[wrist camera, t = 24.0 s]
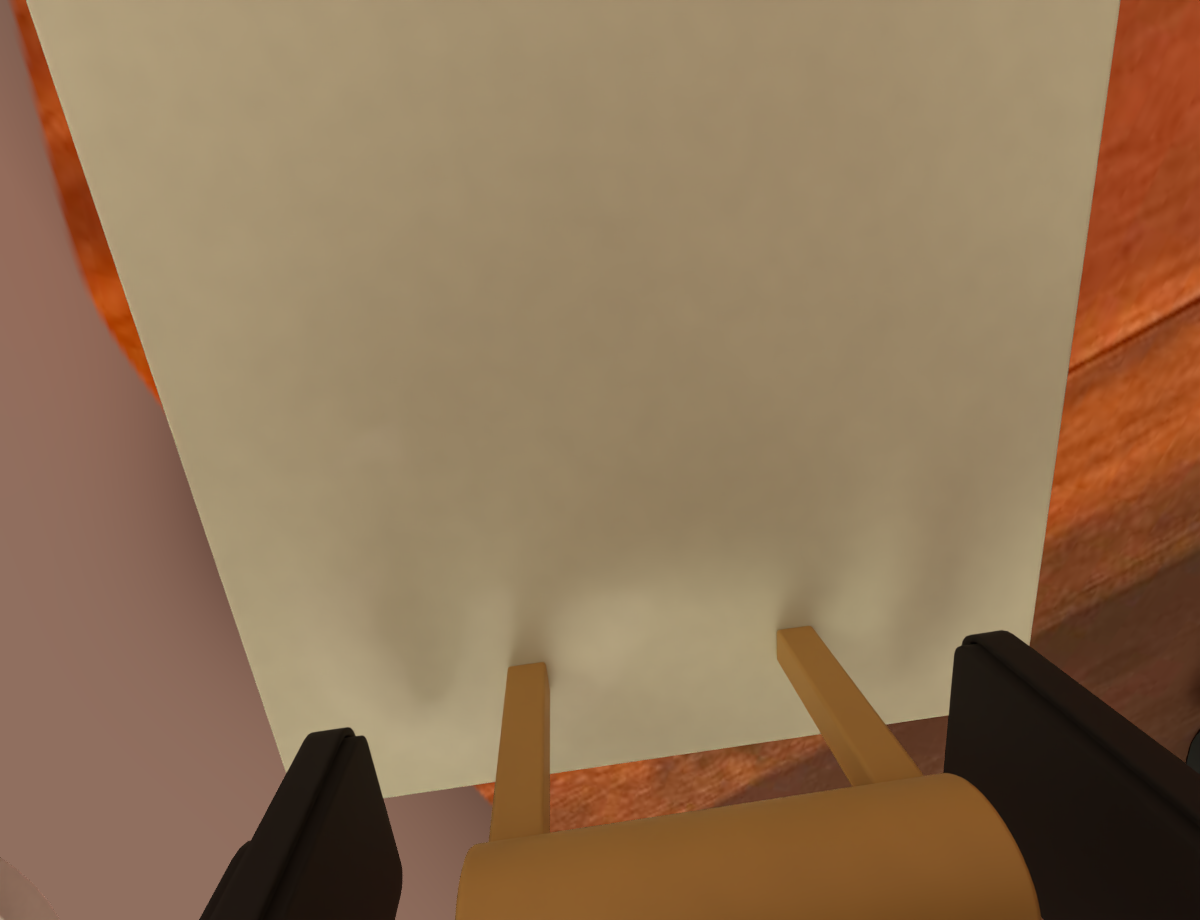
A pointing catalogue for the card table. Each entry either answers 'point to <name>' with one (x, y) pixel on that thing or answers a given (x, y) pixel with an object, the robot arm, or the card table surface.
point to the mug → (1194, 754)
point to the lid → (615, 396)
